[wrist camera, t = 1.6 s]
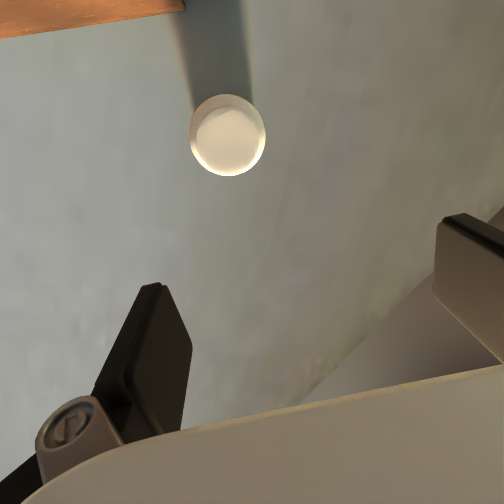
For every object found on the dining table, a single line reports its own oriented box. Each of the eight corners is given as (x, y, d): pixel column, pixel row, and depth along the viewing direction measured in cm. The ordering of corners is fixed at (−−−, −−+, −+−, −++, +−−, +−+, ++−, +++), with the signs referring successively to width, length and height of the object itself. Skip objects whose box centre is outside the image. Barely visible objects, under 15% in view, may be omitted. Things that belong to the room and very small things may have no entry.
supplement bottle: (185, 129, 26) (163, 143, 18) (225, 80, 25) (222, 69, 16) (230, 171, 28) (230, 202, 20) (269, 127, 27) (288, 140, 18)
